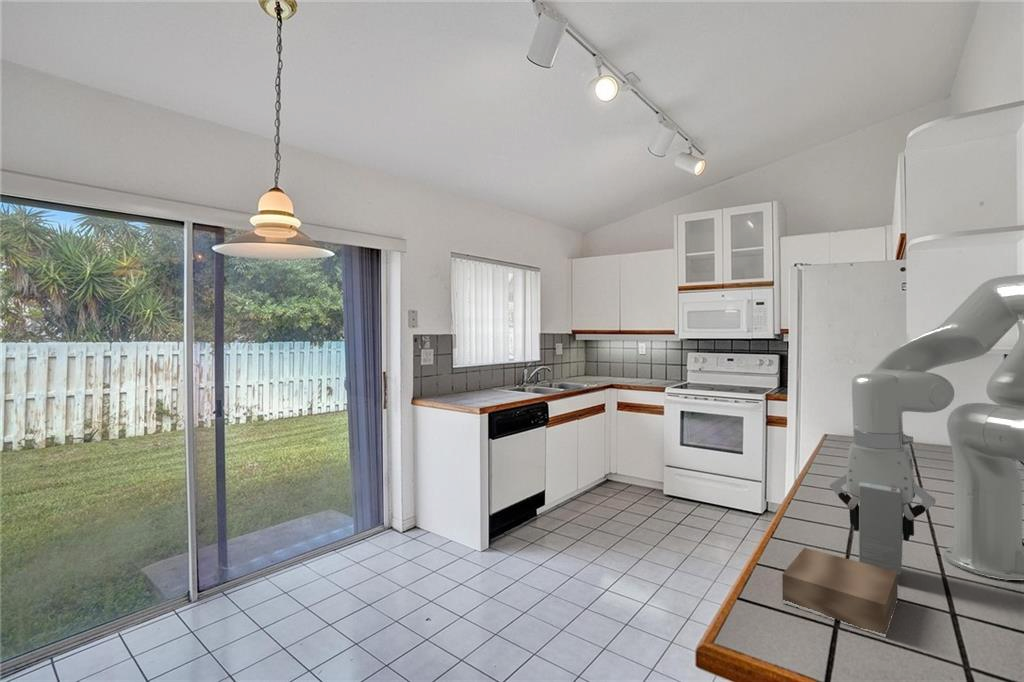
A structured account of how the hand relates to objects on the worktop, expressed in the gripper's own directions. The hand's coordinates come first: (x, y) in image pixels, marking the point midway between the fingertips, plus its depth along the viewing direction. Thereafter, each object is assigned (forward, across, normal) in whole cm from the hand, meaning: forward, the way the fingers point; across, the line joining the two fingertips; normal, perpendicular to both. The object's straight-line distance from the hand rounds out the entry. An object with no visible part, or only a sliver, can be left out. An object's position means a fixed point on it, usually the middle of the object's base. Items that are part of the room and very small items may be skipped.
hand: (881, 532), depth 93 cm
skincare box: (+6, 0, 0) cm, 6 cm away
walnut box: (+7, +4, +17) cm, 19 cm away
